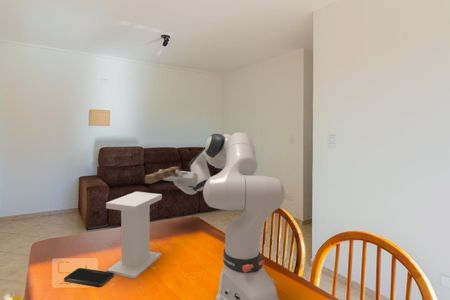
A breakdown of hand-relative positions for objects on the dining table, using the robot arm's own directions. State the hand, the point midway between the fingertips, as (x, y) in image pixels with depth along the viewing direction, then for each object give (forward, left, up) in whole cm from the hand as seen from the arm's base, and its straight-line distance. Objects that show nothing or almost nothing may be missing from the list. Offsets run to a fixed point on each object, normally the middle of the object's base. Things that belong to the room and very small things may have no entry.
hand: (171, 170), depth 130 cm
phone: (-20, +38, -33) cm, 55 cm away
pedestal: (-18, +22, -32) cm, 43 cm away
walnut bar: (-5, +5, -2) cm, 7 cm away
